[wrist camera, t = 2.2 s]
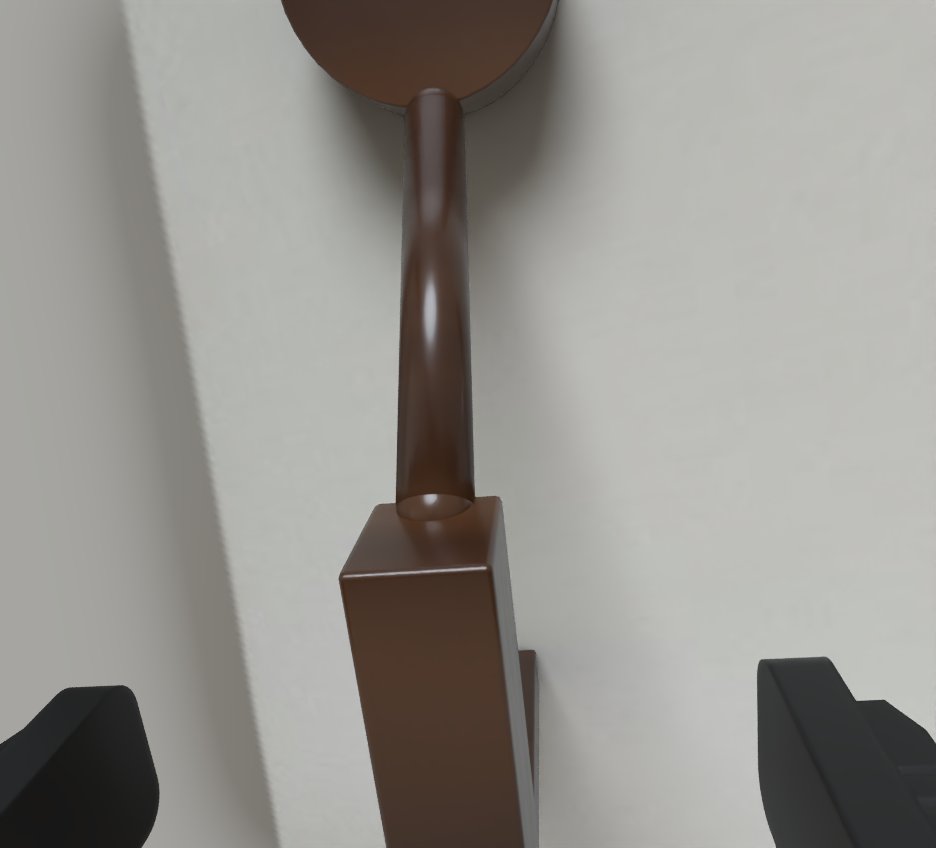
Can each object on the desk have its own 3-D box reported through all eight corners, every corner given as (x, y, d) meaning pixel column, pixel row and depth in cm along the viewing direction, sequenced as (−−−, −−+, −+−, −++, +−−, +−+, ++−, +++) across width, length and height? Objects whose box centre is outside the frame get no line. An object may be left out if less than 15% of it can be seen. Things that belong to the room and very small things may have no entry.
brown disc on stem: (286, -144, 16) (-88, -644, 7) (548, -190, 16) (565, -820, 6) (414, 690, 22) (316, 1082, 12) (610, 682, 21) (670, 1088, 12)
